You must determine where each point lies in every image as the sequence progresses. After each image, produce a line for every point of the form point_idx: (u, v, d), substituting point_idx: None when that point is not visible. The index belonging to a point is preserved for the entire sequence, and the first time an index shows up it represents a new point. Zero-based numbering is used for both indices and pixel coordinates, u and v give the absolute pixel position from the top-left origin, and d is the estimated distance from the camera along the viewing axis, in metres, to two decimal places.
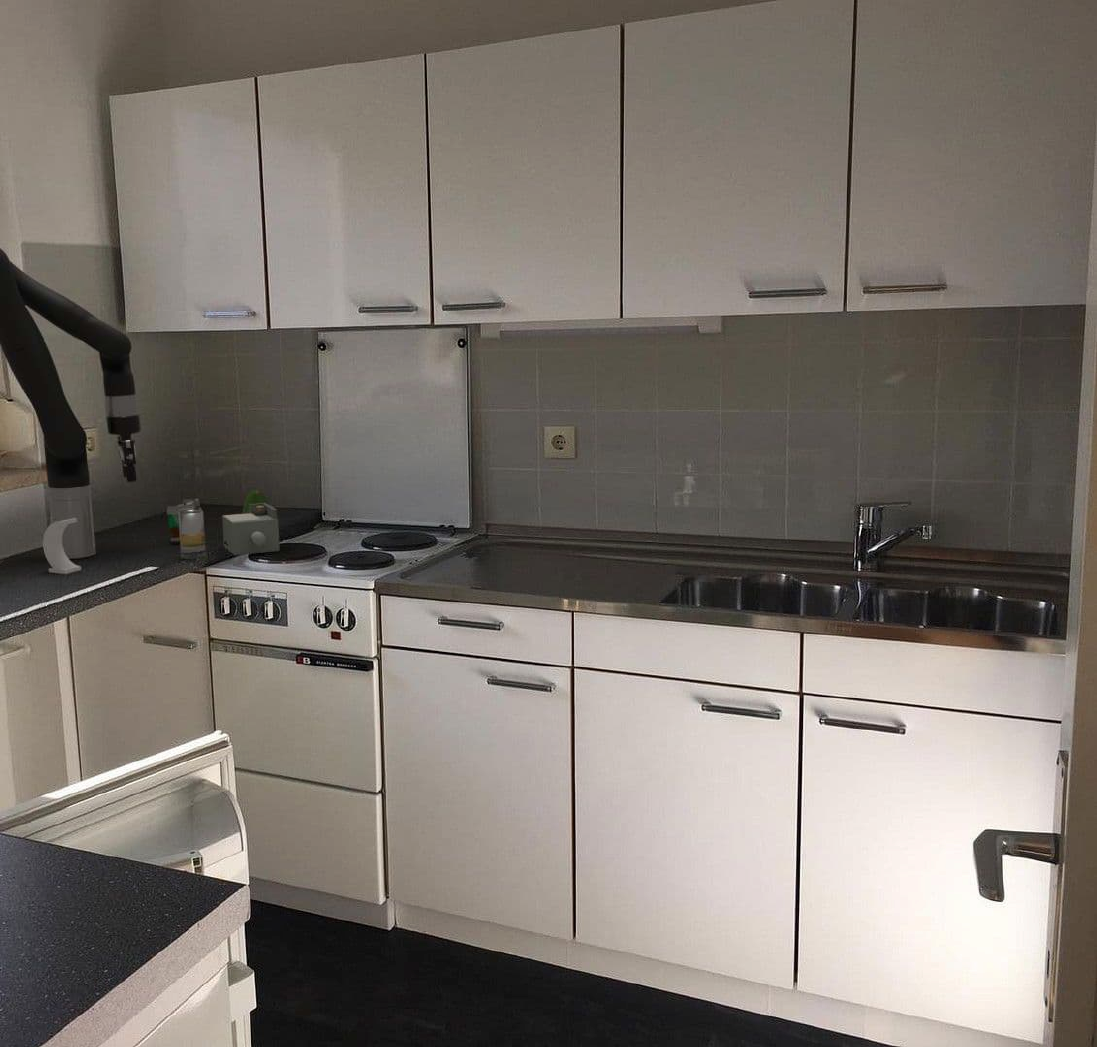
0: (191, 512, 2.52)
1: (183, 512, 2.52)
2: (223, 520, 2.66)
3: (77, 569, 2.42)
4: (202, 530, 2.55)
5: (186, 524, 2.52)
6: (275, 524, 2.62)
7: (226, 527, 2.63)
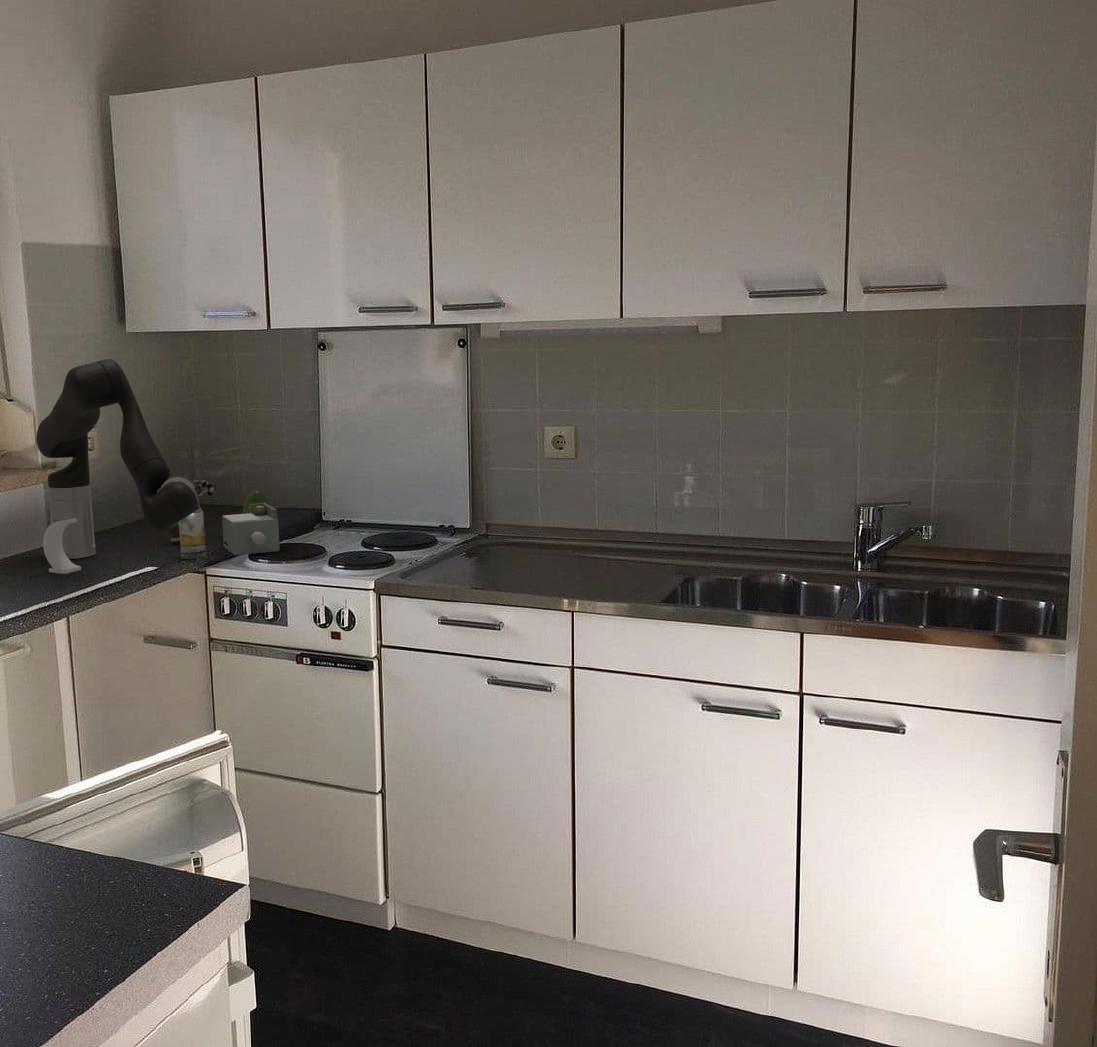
0: None
1: None
2: (223, 520, 2.66)
3: (77, 569, 2.42)
4: (202, 530, 2.55)
5: (186, 524, 2.52)
6: (275, 524, 2.62)
7: (226, 527, 2.63)
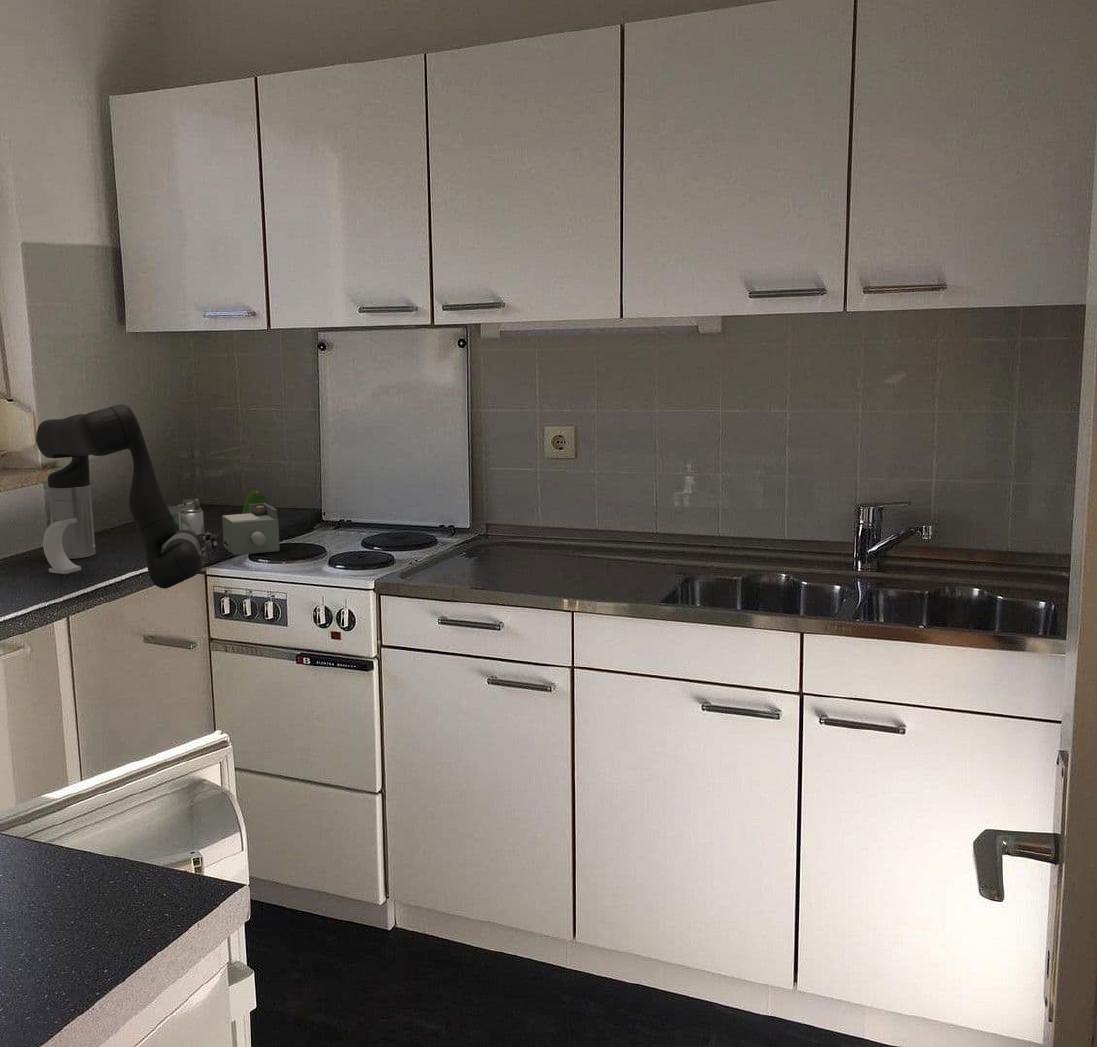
0: (191, 512, 2.52)
1: (183, 512, 2.52)
2: (223, 520, 2.66)
3: (77, 569, 2.42)
4: (202, 530, 2.55)
5: (186, 524, 2.52)
6: (275, 524, 2.62)
7: (226, 527, 2.63)
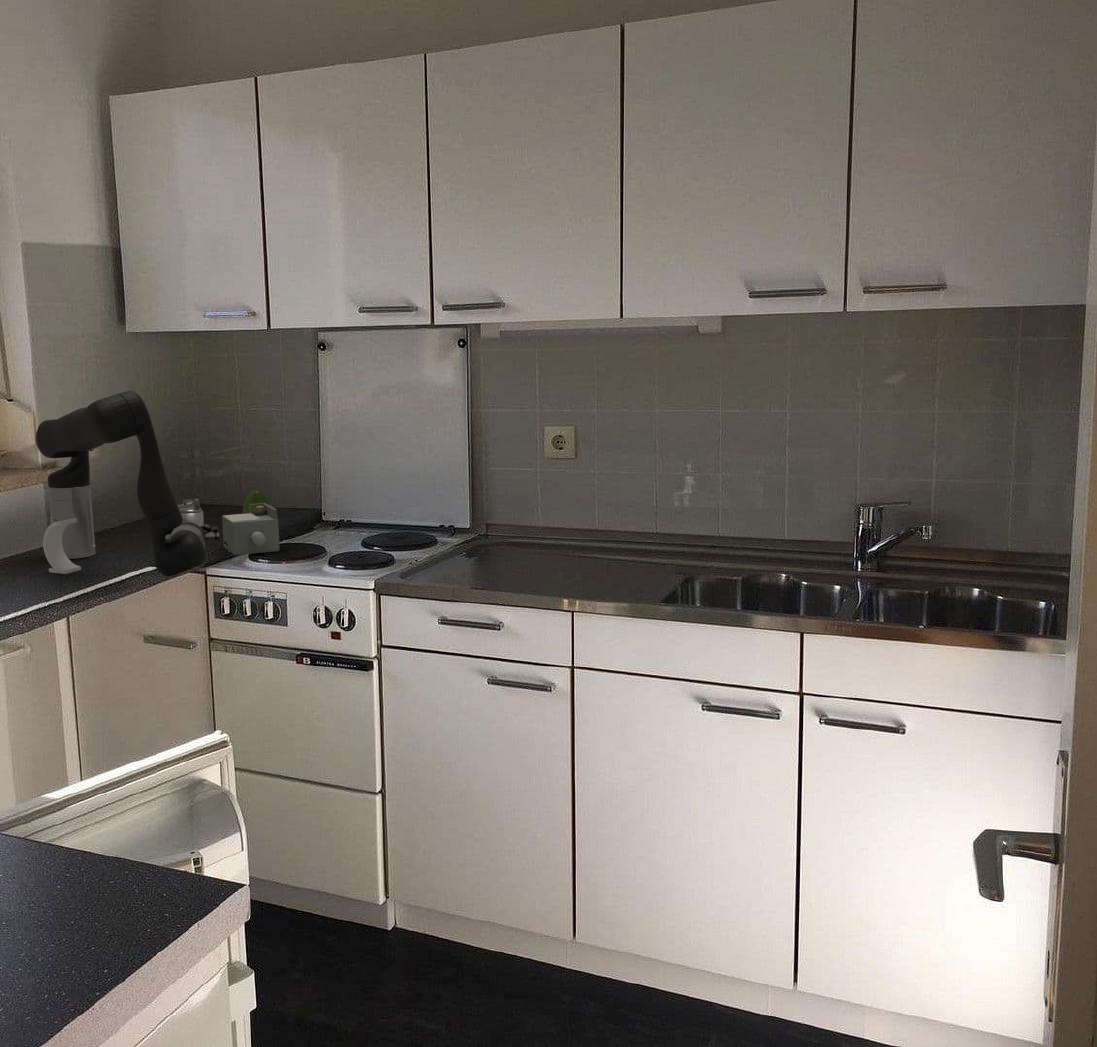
0: (191, 512, 2.52)
1: (183, 512, 2.52)
2: (223, 520, 2.66)
3: (77, 569, 2.42)
4: None
5: None
6: (275, 524, 2.62)
7: (226, 527, 2.63)
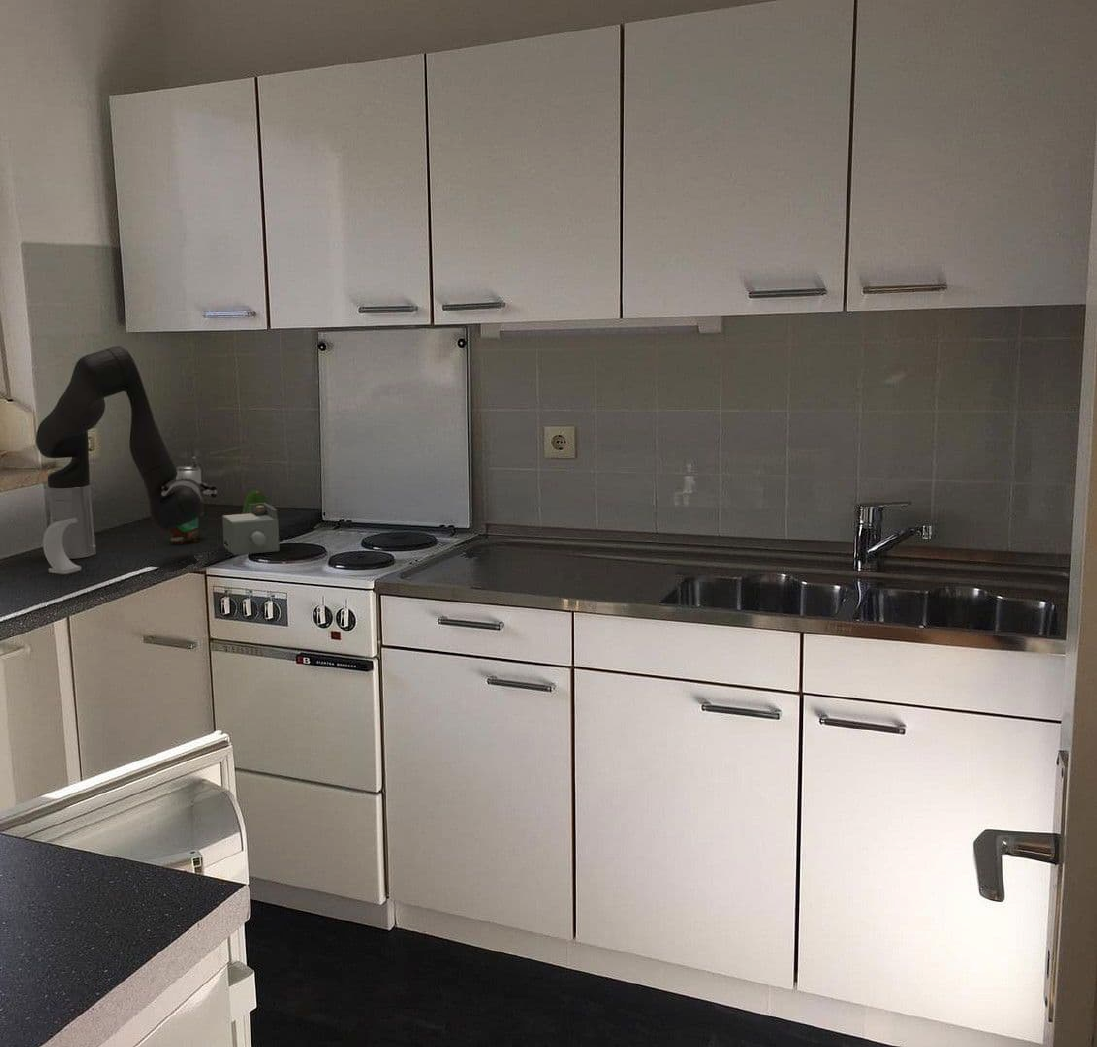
0: (188, 469, 2.51)
1: (180, 469, 2.51)
2: (223, 520, 2.66)
3: (77, 569, 2.42)
4: None
5: None
6: (275, 524, 2.62)
7: (226, 527, 2.63)
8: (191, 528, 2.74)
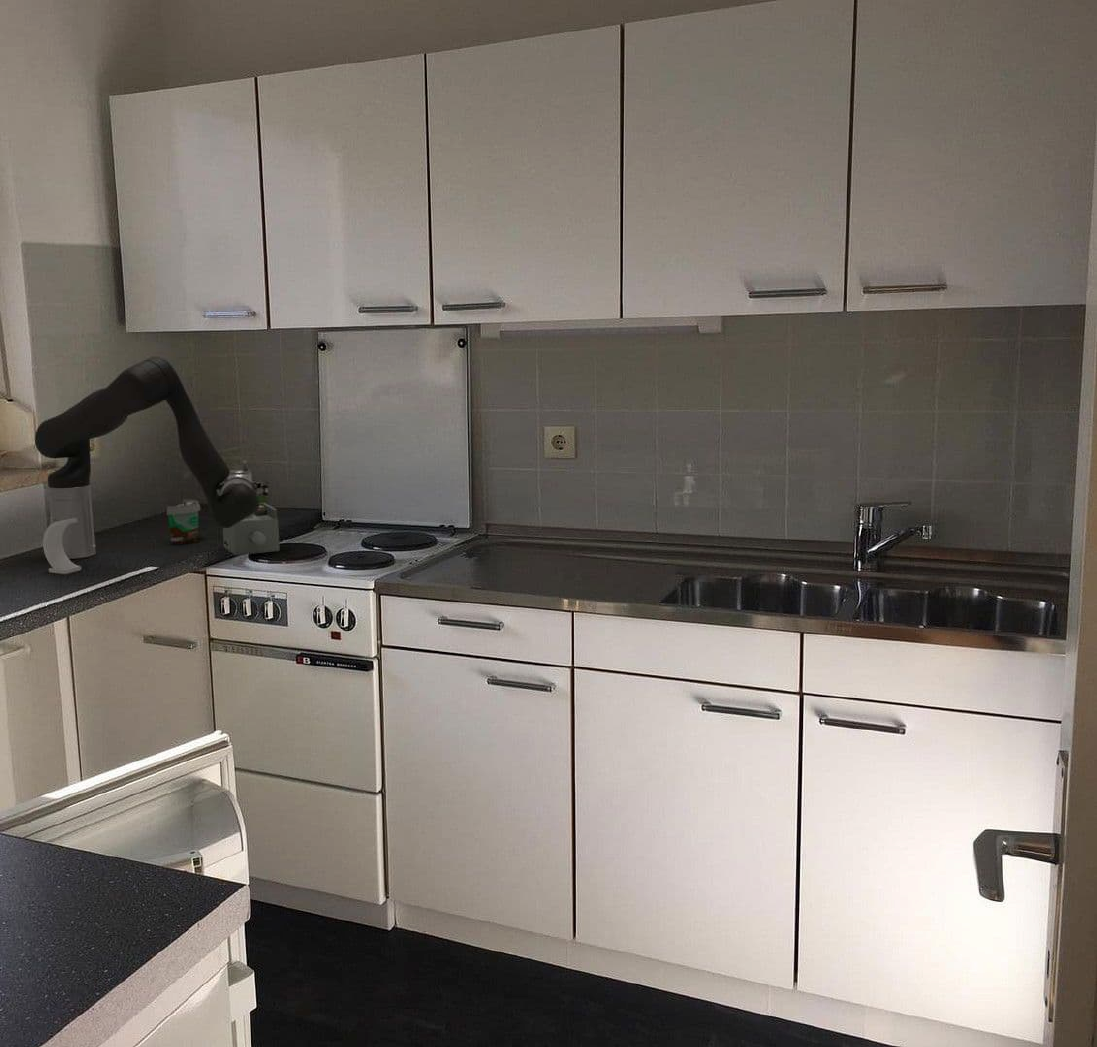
0: (240, 473, 2.59)
1: (232, 473, 2.59)
2: None
3: (77, 569, 2.42)
4: None
5: None
6: (275, 524, 2.62)
7: None
8: (191, 528, 2.74)
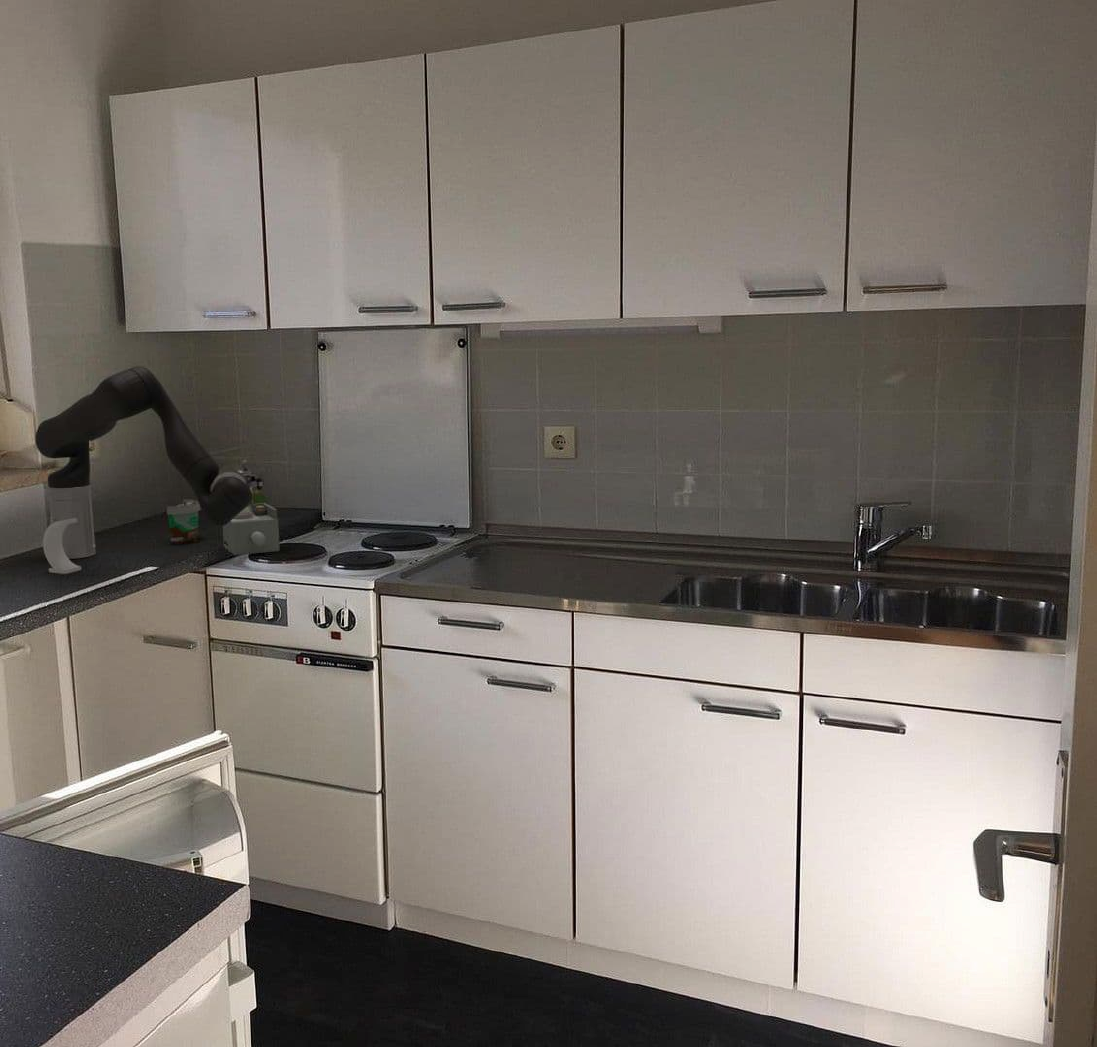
0: None
1: None
2: None
3: (77, 569, 2.42)
4: None
5: None
6: (275, 524, 2.62)
7: (226, 527, 2.63)
8: (191, 528, 2.74)
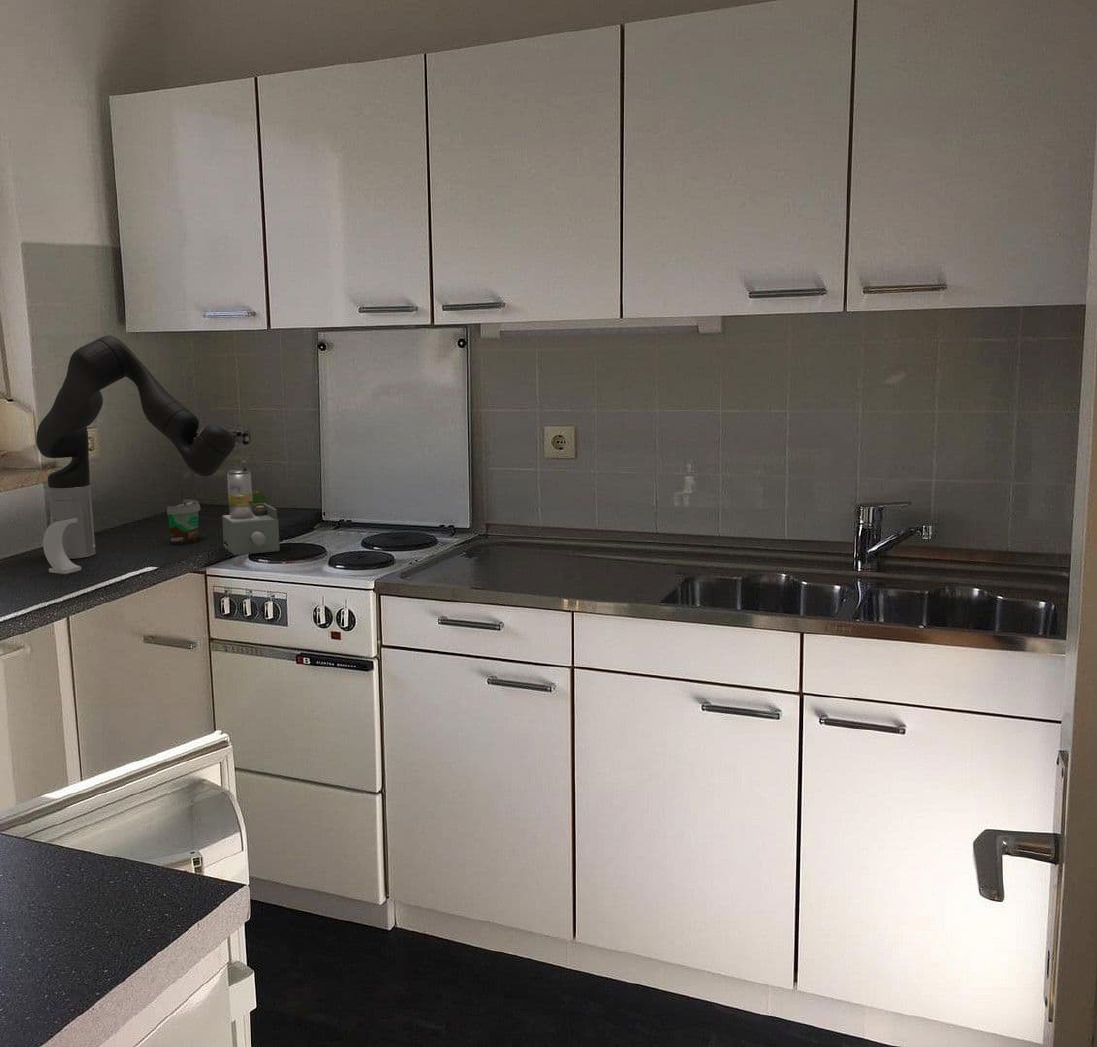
0: (239, 473, 2.59)
1: (232, 473, 2.59)
2: (223, 520, 2.66)
3: (77, 569, 2.42)
4: (250, 491, 2.61)
5: (235, 485, 2.59)
6: (275, 524, 2.62)
7: (226, 527, 2.63)
8: (191, 528, 2.74)
